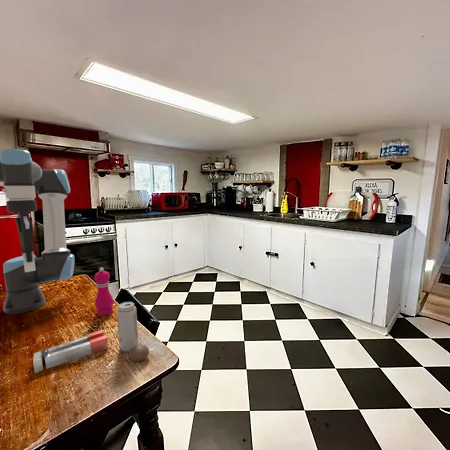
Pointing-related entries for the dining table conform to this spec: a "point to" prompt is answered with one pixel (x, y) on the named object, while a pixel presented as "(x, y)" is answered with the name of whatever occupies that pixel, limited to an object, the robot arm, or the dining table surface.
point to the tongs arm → (77, 341)
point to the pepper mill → (103, 293)
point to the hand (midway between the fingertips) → (30, 270)
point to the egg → (138, 353)
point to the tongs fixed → (68, 353)
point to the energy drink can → (127, 326)
